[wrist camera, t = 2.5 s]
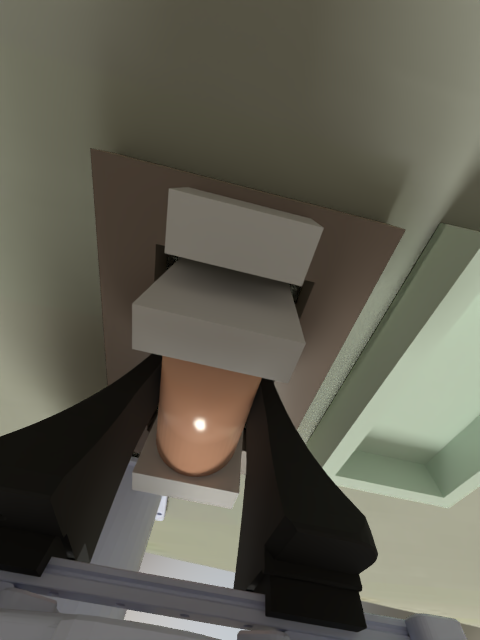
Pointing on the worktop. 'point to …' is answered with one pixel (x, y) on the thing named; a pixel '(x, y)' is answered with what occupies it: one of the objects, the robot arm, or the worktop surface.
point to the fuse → (209, 373)
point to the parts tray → (415, 386)
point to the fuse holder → (232, 258)
